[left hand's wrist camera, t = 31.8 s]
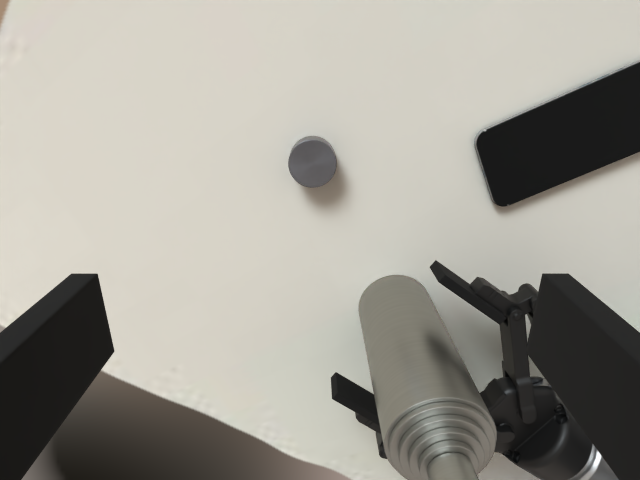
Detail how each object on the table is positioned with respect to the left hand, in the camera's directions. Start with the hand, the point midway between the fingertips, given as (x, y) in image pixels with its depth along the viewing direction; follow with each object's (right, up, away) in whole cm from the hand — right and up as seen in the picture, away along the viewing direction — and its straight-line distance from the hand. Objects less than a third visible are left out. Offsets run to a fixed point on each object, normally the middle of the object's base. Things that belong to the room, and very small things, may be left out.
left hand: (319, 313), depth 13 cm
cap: (-1, +9, +22) cm, 24 cm away
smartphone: (+21, +11, +24) cm, 34 cm away
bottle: (+7, -4, +30) cm, 31 cm away
